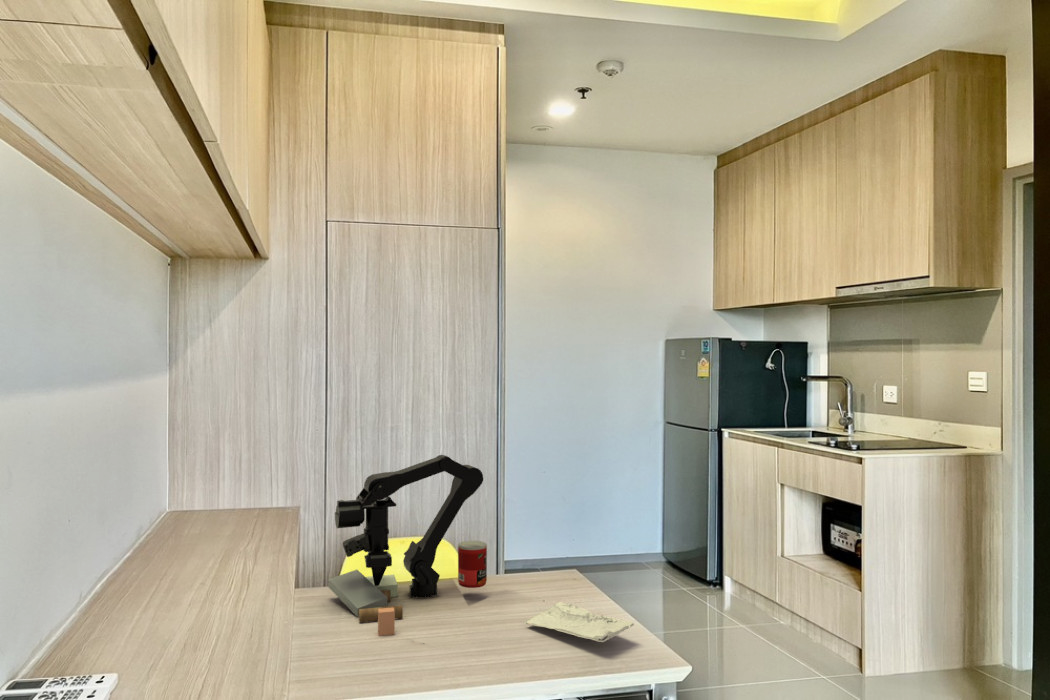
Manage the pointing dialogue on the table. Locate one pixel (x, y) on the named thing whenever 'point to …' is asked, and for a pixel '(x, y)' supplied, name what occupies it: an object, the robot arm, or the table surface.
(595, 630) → the terrain model
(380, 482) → the robot arm
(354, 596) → the slab
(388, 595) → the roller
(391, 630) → the orange upright block
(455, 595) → the table surface
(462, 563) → the canned food
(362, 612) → the roller
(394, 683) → the table surface
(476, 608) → the table surface
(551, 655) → the table surface
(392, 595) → the block
